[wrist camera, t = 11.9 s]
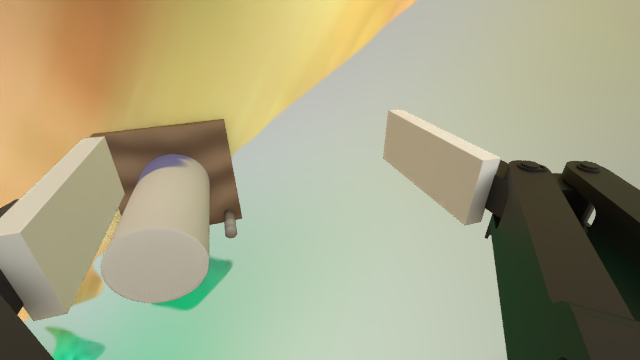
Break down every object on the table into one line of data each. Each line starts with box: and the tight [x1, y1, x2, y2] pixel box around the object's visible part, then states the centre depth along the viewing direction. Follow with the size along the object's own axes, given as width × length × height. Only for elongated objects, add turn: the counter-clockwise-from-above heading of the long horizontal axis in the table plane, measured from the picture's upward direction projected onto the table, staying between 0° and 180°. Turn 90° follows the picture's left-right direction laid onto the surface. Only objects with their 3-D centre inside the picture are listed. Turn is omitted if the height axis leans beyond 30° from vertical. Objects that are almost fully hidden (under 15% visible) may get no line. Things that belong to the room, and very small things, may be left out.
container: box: [101, 154, 210, 303], centre depth 40 cm, size 10×10×20 cm
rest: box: [89, 119, 242, 238], centre depth 46 cm, size 18×18×8 cm
